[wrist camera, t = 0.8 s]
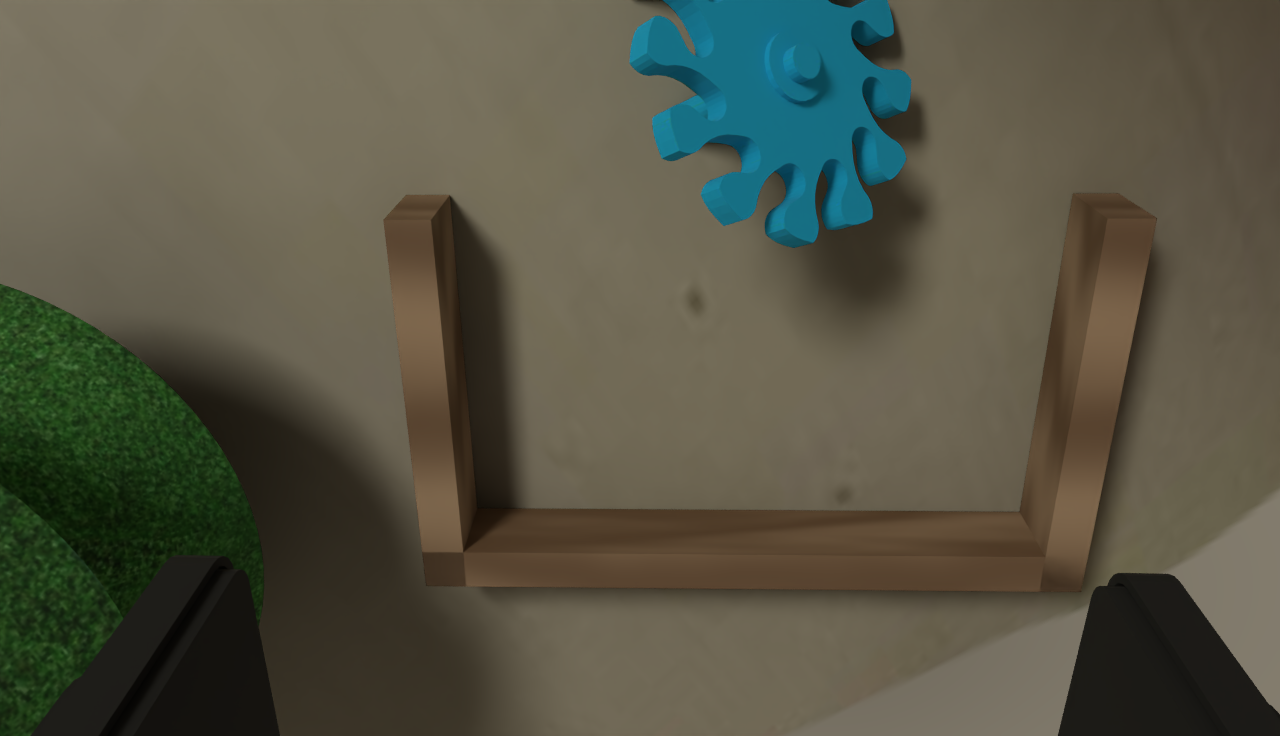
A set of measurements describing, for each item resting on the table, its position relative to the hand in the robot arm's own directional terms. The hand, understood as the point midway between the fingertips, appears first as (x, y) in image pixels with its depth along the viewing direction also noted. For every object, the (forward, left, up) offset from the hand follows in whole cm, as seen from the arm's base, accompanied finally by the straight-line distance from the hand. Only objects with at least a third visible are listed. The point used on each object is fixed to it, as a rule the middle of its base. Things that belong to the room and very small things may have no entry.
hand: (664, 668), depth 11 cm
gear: (-4, +3, -25) cm, 26 cm away
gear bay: (+8, +3, -25) cm, 26 cm away
